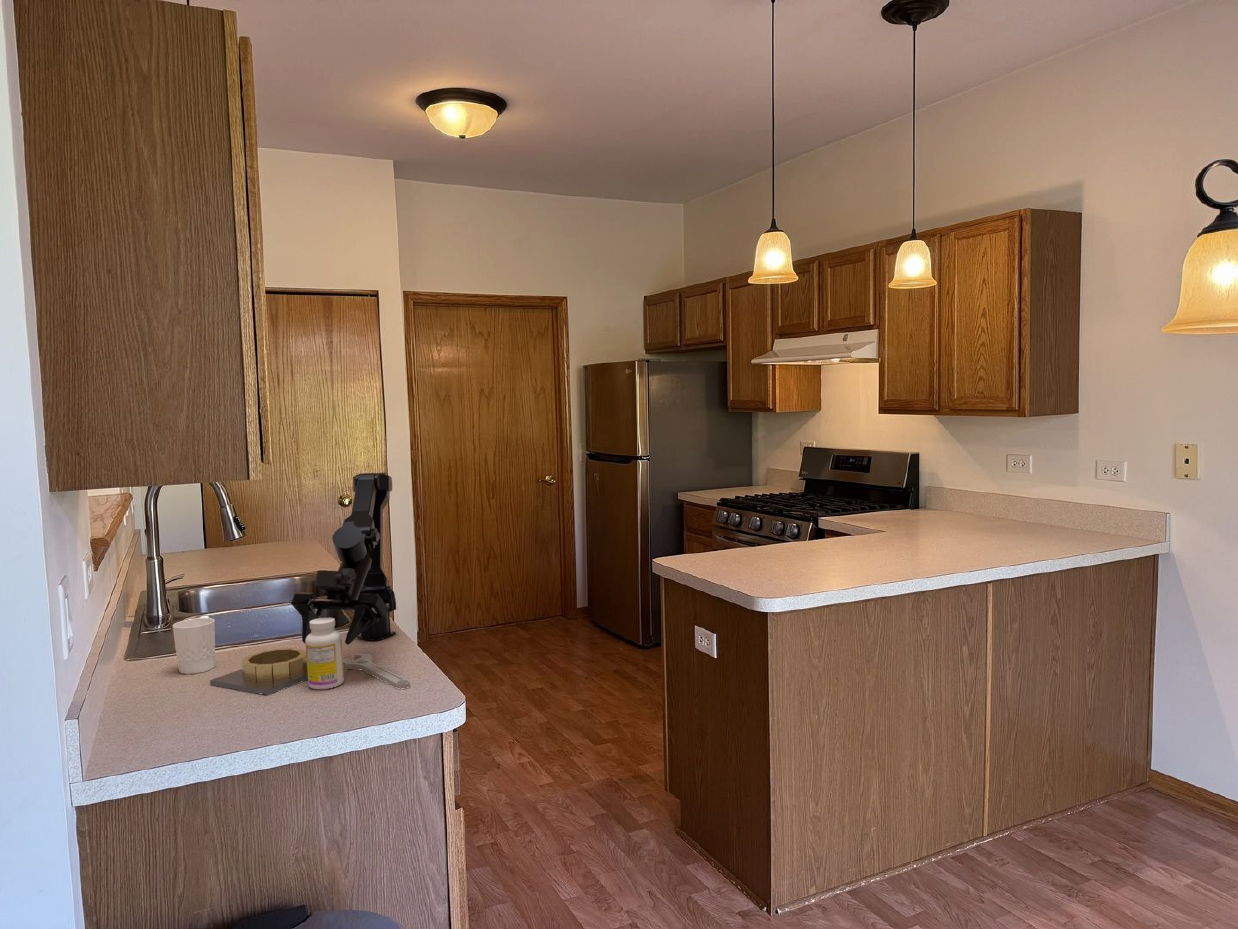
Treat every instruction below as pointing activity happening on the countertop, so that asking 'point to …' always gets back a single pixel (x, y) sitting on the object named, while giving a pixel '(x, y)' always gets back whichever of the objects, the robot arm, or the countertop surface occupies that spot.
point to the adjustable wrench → (375, 670)
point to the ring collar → (267, 671)
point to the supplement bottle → (324, 655)
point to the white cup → (195, 645)
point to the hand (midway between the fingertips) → (325, 643)
